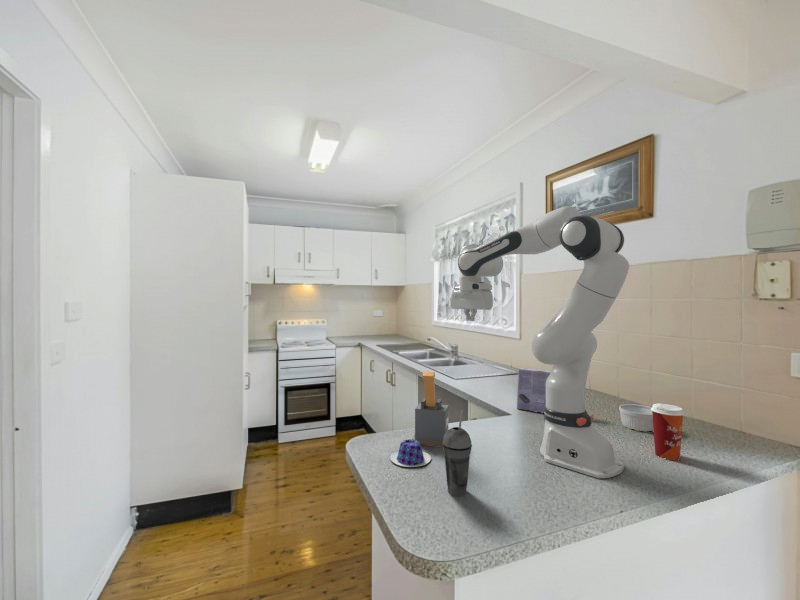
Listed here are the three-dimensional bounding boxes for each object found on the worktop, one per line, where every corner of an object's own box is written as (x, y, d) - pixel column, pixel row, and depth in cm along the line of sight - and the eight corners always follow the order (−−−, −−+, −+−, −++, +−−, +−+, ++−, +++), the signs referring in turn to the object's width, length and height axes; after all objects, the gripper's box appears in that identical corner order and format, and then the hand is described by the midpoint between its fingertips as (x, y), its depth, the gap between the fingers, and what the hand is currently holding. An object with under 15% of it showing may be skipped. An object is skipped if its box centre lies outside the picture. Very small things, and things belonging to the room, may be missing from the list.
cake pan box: (566, 414, 150) (566, 371, 150) (564, 417, 146) (564, 373, 146) (519, 406, 160) (519, 367, 160) (516, 409, 156) (516, 368, 156)
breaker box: (417, 435, 126) (417, 395, 126) (451, 438, 123) (451, 397, 123) (411, 443, 118) (411, 401, 118) (448, 447, 115) (448, 404, 115)
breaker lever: (426, 404, 121) (423, 371, 116) (437, 405, 120) (434, 371, 115) (425, 409, 119) (422, 375, 114) (436, 409, 118) (433, 376, 113)
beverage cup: (439, 484, 92) (439, 406, 92) (467, 483, 93) (467, 405, 93) (445, 499, 85) (445, 415, 85) (475, 498, 86) (475, 414, 86)
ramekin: (622, 430, 131) (622, 411, 131) (616, 419, 143) (616, 402, 143) (666, 436, 126) (666, 416, 126) (656, 424, 138) (656, 406, 138)
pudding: (438, 458, 108) (438, 440, 108) (416, 473, 99) (416, 454, 99) (405, 448, 115) (405, 432, 115) (382, 462, 106) (382, 444, 106)
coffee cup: (675, 464, 104) (675, 412, 104) (645, 453, 111) (645, 405, 111) (690, 458, 108) (690, 408, 108) (660, 448, 115) (660, 401, 115)
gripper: (446, 286, 150) (446, 319, 150) (484, 284, 133) (483, 322, 133) (458, 287, 154) (457, 319, 154) (495, 285, 137) (495, 321, 137)
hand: (470, 320), depth 143 cm, fingers closed
